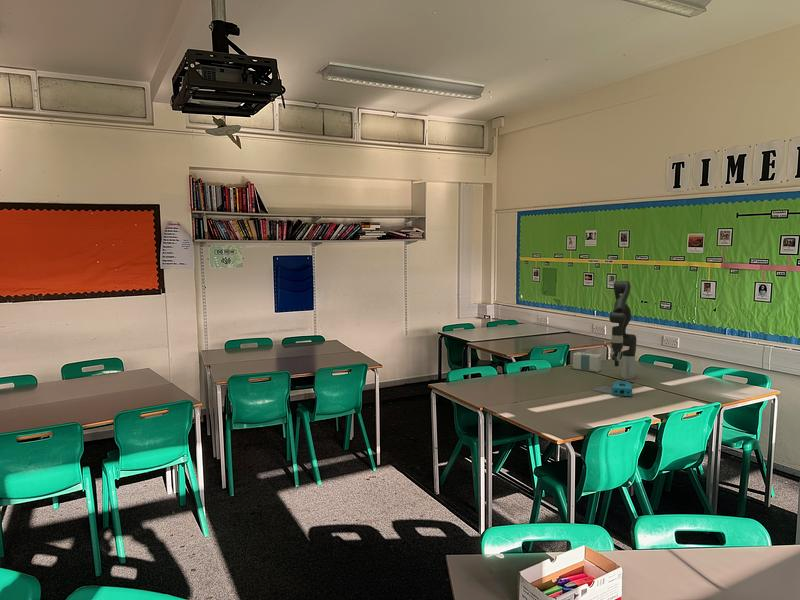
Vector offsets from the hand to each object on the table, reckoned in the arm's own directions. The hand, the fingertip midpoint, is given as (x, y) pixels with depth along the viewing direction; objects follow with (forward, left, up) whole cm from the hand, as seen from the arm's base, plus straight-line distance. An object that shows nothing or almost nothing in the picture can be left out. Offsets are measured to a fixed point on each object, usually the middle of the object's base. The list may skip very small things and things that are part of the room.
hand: (616, 366), depth 384 cm
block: (-3, +3, -13) cm, 14 cm away
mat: (+8, 0, -16) cm, 18 cm away
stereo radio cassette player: (-33, -47, -17) cm, 60 cm away
